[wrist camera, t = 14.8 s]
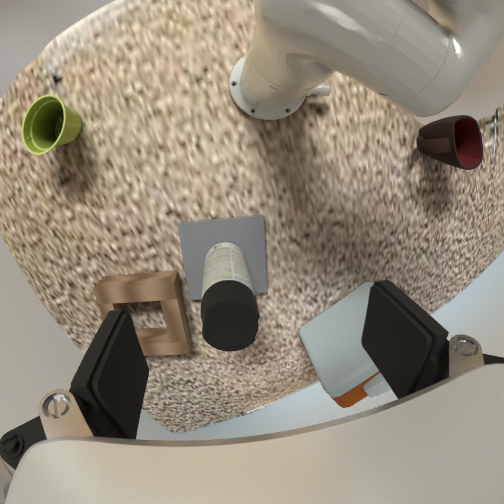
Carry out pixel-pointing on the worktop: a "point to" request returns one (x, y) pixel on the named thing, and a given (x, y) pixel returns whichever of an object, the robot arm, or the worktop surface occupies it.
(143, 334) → the walnut collar
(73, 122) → the plant pot
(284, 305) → the worktop surface
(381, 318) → the robot arm
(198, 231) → the slate coaster
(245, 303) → the spray can
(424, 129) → the cup
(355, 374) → the alarm clock
